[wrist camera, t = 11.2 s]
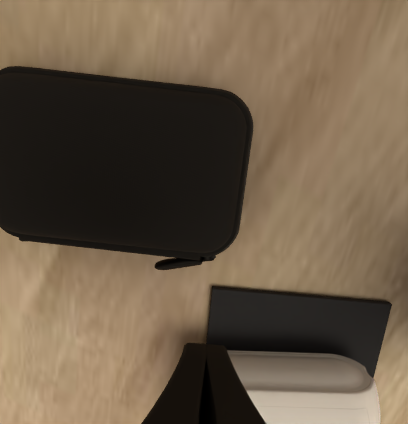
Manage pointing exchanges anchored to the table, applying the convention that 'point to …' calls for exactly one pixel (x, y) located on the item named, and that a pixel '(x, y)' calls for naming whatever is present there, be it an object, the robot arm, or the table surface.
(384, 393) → the table surface
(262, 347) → the desk pad
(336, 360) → the photo printer
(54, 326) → the table surface
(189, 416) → the robot arm
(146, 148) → the carrying case
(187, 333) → the table surface
